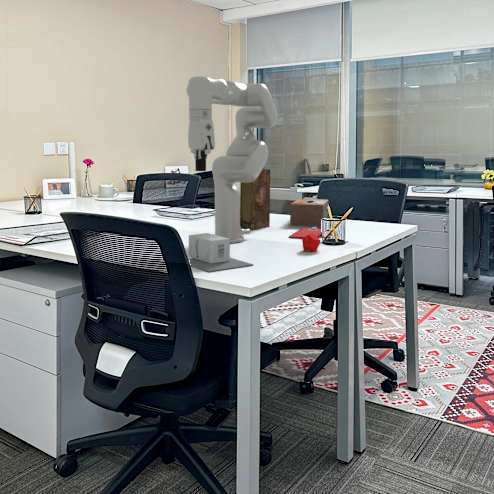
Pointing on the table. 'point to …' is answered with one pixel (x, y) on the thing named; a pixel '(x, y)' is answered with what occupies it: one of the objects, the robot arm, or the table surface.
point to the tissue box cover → (308, 212)
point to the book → (255, 202)
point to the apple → (310, 242)
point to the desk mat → (218, 265)
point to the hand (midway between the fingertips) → (200, 170)
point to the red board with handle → (307, 232)
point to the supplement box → (209, 248)
